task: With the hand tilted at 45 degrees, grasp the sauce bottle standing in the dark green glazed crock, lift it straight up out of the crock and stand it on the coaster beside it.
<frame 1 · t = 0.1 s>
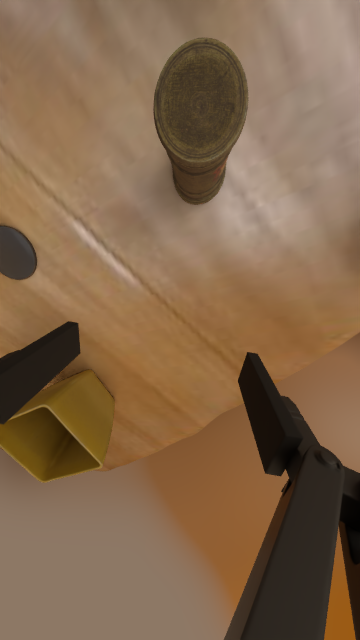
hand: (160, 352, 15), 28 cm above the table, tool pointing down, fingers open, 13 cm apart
container: (198, 175, 33), on the table
flower pot: (86, 390, 55), on the table
coaster: (12, 254, 41), on the table
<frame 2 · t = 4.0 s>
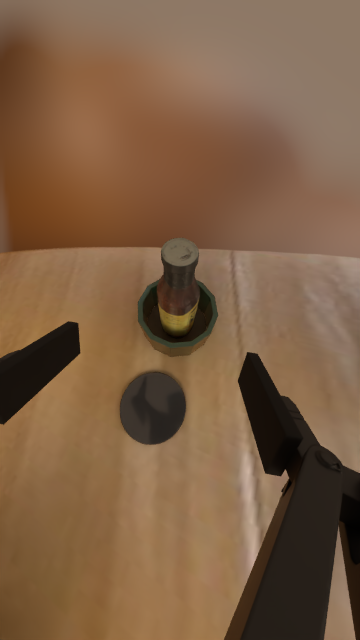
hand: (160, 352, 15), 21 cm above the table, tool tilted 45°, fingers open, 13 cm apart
coaster: (153, 406, 32), on the table
sauce bottle: (176, 323, 38), resting in crock
crock: (176, 323, 38), on the table
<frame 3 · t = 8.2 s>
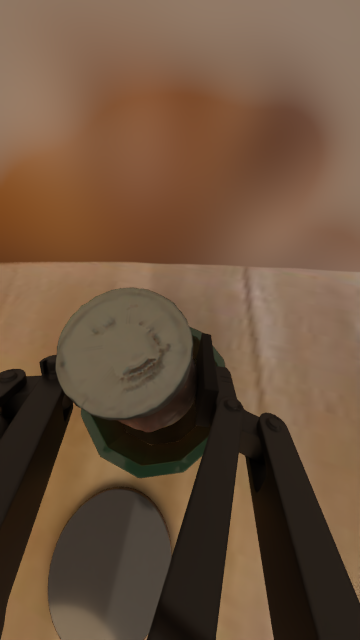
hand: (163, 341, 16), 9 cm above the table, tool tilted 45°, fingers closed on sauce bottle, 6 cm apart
coaster: (113, 560, 18), on the table
sauce bottle: (161, 389, 24), resting in crock, touching gripper
crock: (161, 389, 24), on the table
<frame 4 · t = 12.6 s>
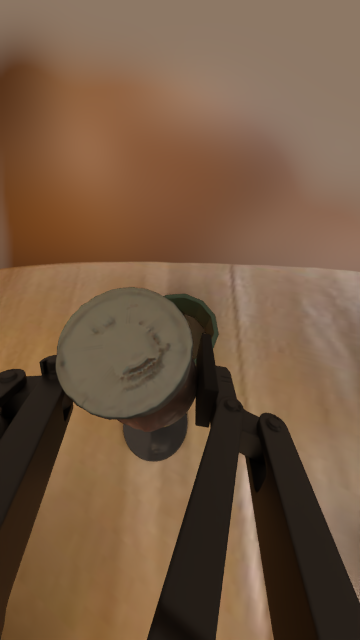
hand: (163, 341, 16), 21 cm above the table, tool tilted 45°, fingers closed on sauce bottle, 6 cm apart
coaster: (155, 422, 33), on the table
sauce bottle: (161, 389, 24), point 12 cm above the table, touching gripper
crock: (178, 339, 39), on the table
when the fingers open (10 cm above the table, at t = 16.8 s): sauce bottle stays where it is, resting on coaster.
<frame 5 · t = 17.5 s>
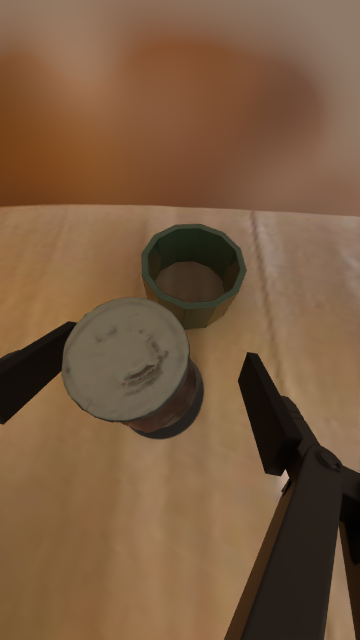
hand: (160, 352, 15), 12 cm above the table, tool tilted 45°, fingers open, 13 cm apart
coaster: (161, 389, 25), on the table
sauce bottle: (161, 389, 24), resting on coaster
crock: (189, 290, 30), on the table
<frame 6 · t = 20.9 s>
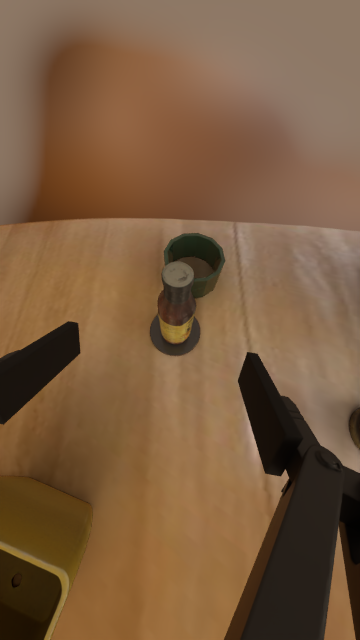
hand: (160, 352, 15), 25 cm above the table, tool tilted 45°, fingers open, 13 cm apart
flower pot: (37, 538, 28), on the table
coaster: (175, 331, 42), on the table
sauce bottle: (175, 331, 41), resting on coaster
crock: (191, 275, 47), on the table
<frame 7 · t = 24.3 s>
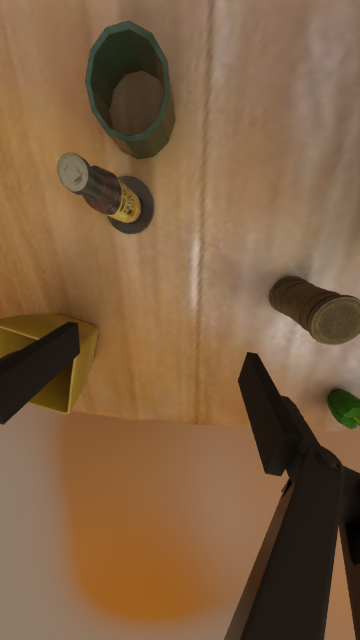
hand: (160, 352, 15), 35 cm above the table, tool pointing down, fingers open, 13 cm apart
container: (287, 294, 46), on the table
flower pot: (76, 337, 56), on the table
coaster: (129, 207, 42), on the table
sauce bottle: (129, 207, 41), resting on coaster
crock: (140, 115, 36), on the table
bell pepper: (336, 396, 56), on the table
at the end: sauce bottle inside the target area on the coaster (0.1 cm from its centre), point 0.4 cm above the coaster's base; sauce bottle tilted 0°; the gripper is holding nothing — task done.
